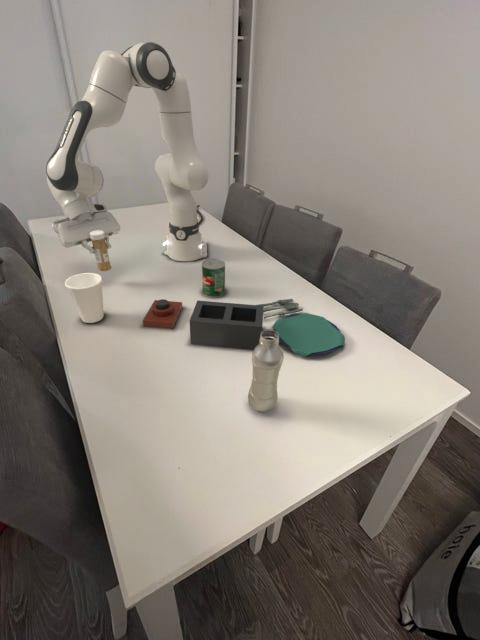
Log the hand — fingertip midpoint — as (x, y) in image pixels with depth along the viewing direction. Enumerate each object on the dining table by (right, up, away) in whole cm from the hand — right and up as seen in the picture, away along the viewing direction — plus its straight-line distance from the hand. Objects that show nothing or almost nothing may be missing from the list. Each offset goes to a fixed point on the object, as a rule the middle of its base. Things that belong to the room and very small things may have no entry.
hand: (101, 250), depth 114 cm
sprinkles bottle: (-1, -6, +4) cm, 7 cm away
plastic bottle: (+52, -43, -37) cm, 77 cm away
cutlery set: (+65, -26, -11) cm, 71 cm away
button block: (+23, -23, -9) cm, 34 cm away
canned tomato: (+38, -14, +5) cm, 40 cm away
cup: (+2, -23, -11) cm, 26 cm away
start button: (+23, -20, -11) cm, 32 cm away
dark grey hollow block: (+43, -28, -16) cm, 54 cm away
